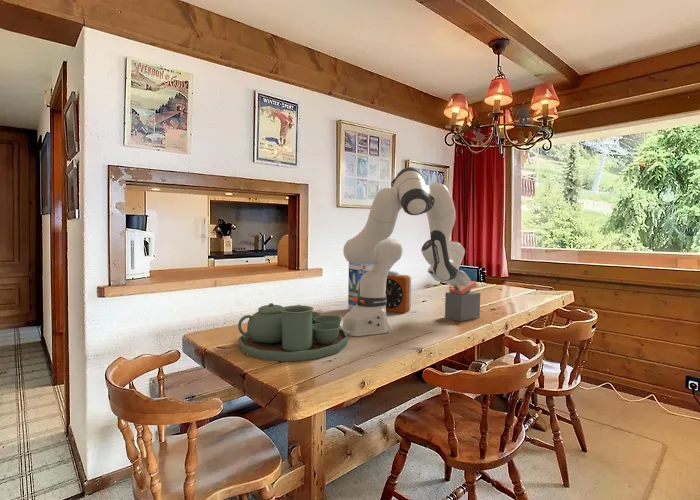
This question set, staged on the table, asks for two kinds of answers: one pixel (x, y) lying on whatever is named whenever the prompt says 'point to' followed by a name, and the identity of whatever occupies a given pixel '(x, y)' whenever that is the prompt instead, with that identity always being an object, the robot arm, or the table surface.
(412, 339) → the table surface
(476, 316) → the switch box
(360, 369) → the table surface
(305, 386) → the table surface
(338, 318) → the tea set
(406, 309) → the alarm clock
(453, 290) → the rocker
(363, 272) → the string lights box
